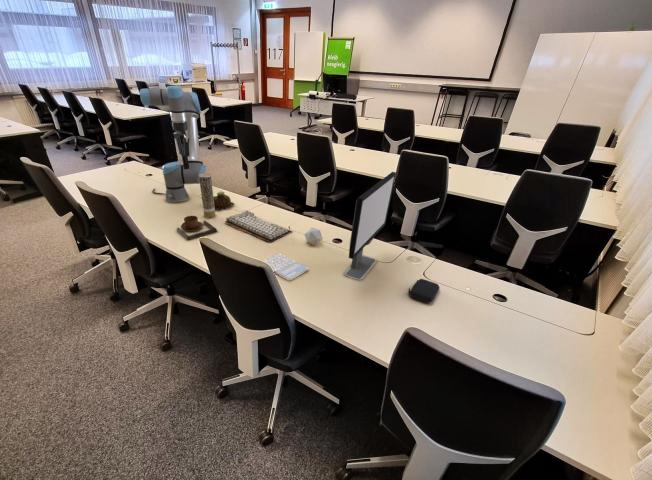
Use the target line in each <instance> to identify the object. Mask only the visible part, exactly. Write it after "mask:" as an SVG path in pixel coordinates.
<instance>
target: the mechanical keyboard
mask: <svg viewBox="0 0 652 480" xmlns="http://www.w3.org/2000/svg"><path fill="white" fill-rule="evenodd" d="M224 224H225V225H228V226H230V227H232V228H234V229H236V230H239V231H242V232H243V233H245V234H249V235H251V236H253V237H255V238H257V239H260V240H262V241H264V242H267V243H272V242H274V241H277V240H278V239H280V238H282V237H285V236H287V235H289V234H292V232H293V231H292V230H290V229H288V228H286V227H282V226H280V225H278V224H276V223H273V222H272V221H269V220H266V219H264V218H262V217H259V216H257V215H255V214H254V212H252V211H248V210H244V211H242V212H239V213H236V214H233V215H230V216H229V217H228V216H227V217H225V222H224Z"/></svg>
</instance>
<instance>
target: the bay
mask: <svg viewBox="0 0 652 480" xmlns="http://www.w3.org/2000/svg"><path fill="white" fill-rule="evenodd" d="M202 224H203V226H205V227H206V228H207V230H204V231H200V232H196V233H193V234H187V233H186V232H184V230H183V229H182V228H181V227H176V231H177V233H178V234H180V235H181V236H182V237H183V238H184V239H185V240H187V241H192V240H194V239H198V238H201V237H205V236H207V235H211V234H215V233H217V232H218V230H217V228H216V227H215V226H214V225H212V224H211V223H210V222H208V221H206V220H203V221H202Z"/></svg>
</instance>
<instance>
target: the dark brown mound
mask: <svg viewBox="0 0 652 480" xmlns="http://www.w3.org/2000/svg"><path fill="white" fill-rule="evenodd" d="M213 197H214V206H215V211H223V210H227V209H229V208H231V207H233V206H235V203H234V202H232V200H231V197H230V196H229V195H227V194H226V193H225V192H224V191H223V190H221V191H218V192H216V196H213Z"/></svg>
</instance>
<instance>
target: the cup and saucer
mask: <svg viewBox="0 0 652 480" xmlns="http://www.w3.org/2000/svg"><path fill="white" fill-rule="evenodd" d="M203 226H204V224H203V222H201V221H199V220H198V216H196V215H187V216H185V217H184V218H183V222H182V224H181V225H180V229H181V230H182V231H186V232H196V231H199V230H200V229H202V228H203Z"/></svg>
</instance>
